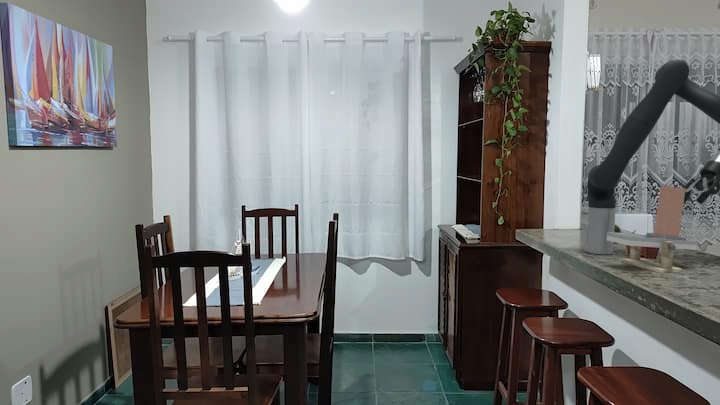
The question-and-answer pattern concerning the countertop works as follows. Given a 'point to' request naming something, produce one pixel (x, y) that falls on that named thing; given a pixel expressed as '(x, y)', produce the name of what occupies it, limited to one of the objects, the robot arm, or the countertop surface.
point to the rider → (669, 214)
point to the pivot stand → (652, 265)
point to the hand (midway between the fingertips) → (689, 202)
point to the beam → (648, 241)
